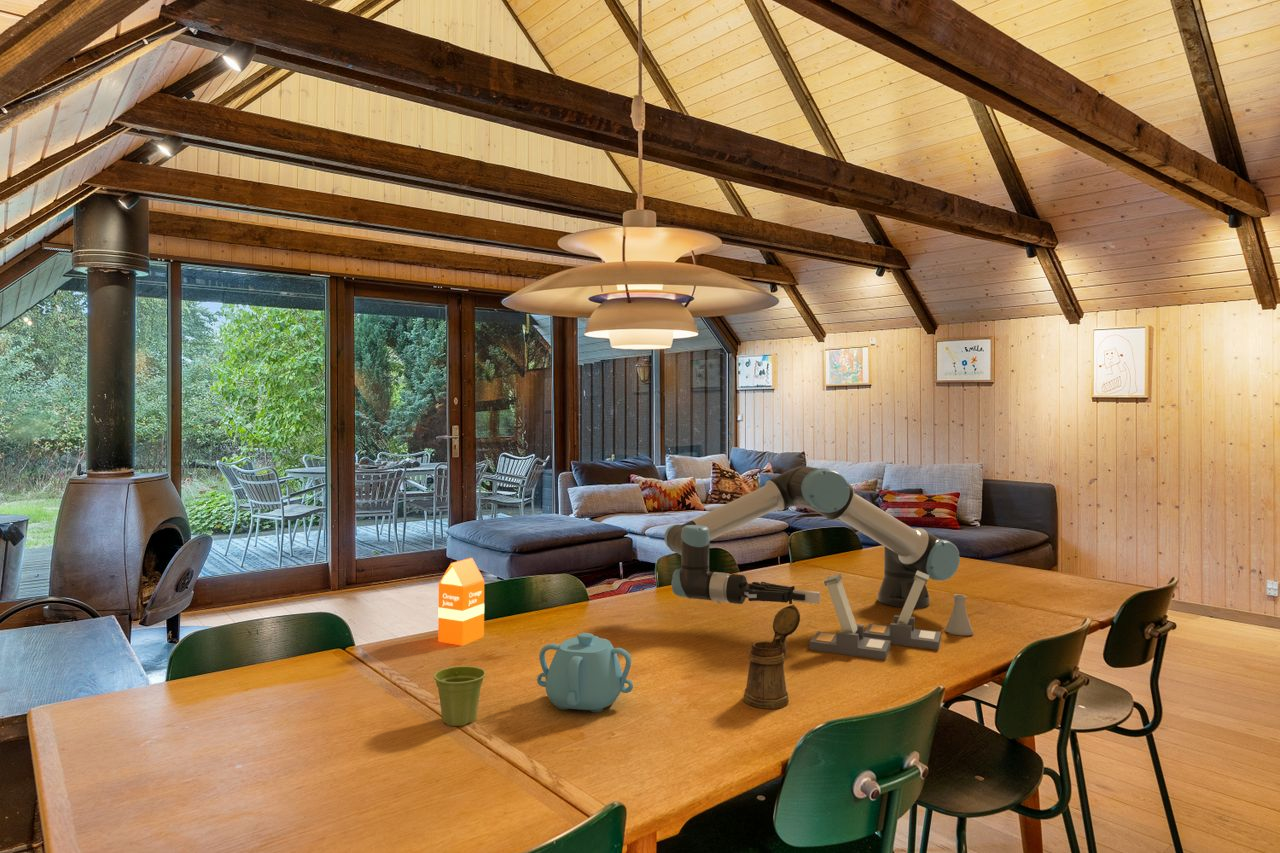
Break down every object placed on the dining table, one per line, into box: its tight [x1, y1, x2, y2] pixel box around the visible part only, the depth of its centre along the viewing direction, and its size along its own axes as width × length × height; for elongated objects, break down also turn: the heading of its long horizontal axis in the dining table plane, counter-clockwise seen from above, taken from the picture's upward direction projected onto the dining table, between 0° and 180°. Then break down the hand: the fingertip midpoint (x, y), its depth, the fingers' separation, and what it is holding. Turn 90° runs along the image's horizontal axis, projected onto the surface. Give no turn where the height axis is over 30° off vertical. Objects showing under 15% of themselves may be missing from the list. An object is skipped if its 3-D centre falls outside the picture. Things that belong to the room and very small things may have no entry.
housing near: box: [809, 623, 892, 661], centre depth 189 cm, size 18×10×5 cm, turn 65°
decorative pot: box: [536, 632, 634, 713], centre depth 151 cm, size 16×16×14 cm
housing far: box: [864, 614, 942, 651], centre depth 197 cm, size 18×10×5 cm, turn 65°
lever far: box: [897, 570, 930, 625], centre depth 196 cm, size 3×6×15 cm, turn 155°
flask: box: [944, 593, 974, 637], centre depth 204 cm, size 7×7×10 cm
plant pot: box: [433, 665, 487, 727], centre depth 142 cm, size 9×9×9 cm
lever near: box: [823, 573, 857, 633], centre depth 189 cm, size 3×6×15 cm, turn 155°
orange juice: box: [437, 557, 485, 647], centre depth 193 cm, size 8×9×20 cm
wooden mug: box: [743, 604, 801, 710], centre depth 155 cm, size 9×14×18 cm, turn 132°
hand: (819, 597), depth 191 cm, fingers closed
